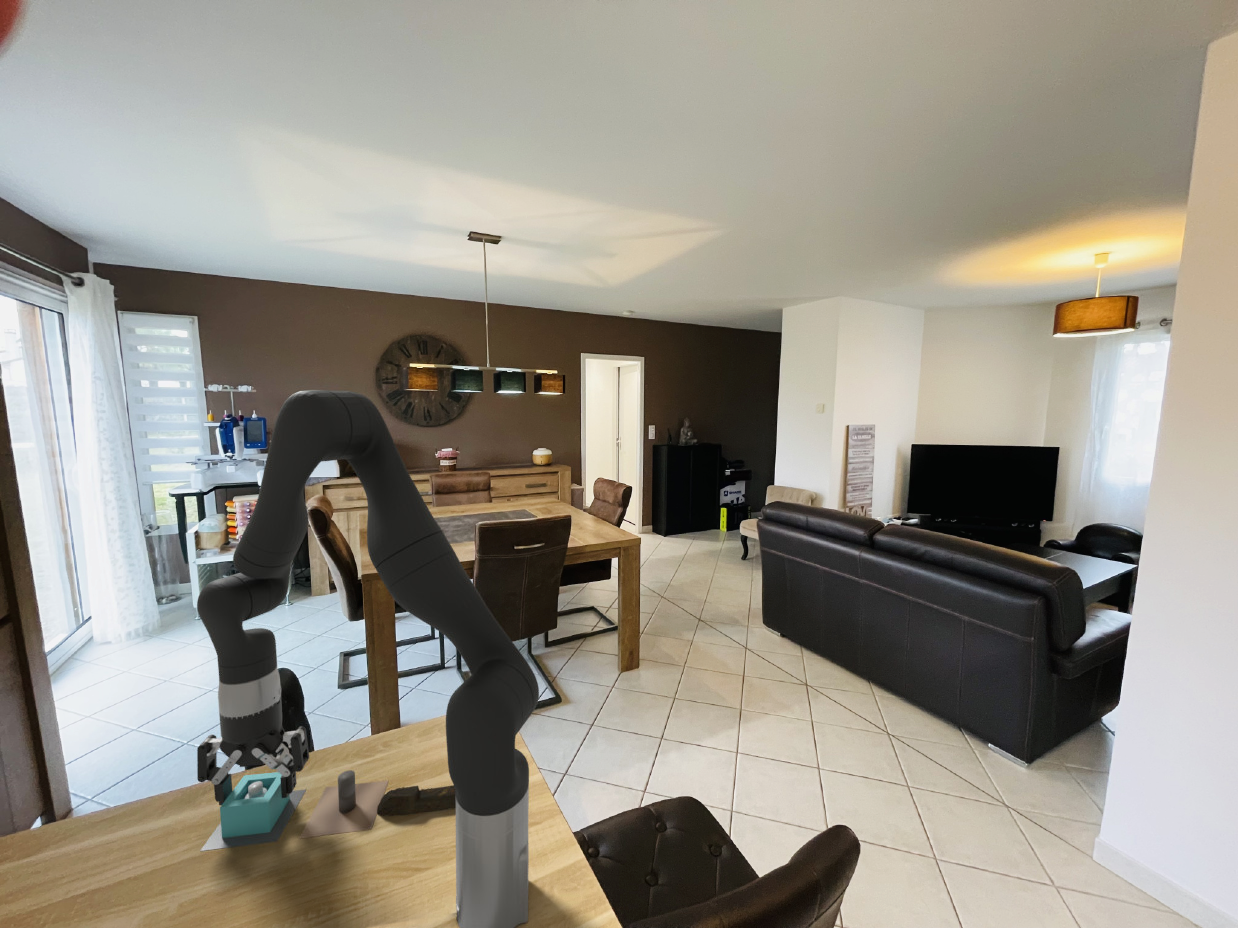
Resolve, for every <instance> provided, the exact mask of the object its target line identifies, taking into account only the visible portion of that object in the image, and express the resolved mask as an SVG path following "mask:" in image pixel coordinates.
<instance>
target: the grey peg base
mask: <svg viewBox="0 0 1238 928" xmlns="http://www.w3.org/2000/svg"><path fill="white" fill-rule="evenodd" d="M306 791H307V789H297V790H293V791H292V793H290V799H289V801H288V803H287V804H286V806H285V808H284V810H283V811H282V813H281V815H280V816H279V818H278V820H277V821H276V823H275V825H274V826H273V828H272V830H271V831H270V832H268V833H260V834H252V835H244V836H235V837H227V838H222V831H221V822H220V823H219V824H218V826H217V827H216V828H215V830H214V831H213V832H212V834H211V835H210V836H209V838H208V839H207V841H206V842H205V843H204V845H203V846H202V848H201V849H200V850H199V851H200V852H204V851H206V852H207V851H212V850H220V849H229V848H237V847H244V846H252V845H259V844H265V843H266V844H268V843H275V842H276V843H277V842H278V840H279V839H280V837H281V835H282V834H283V832H284V830H285V828H286V826H287V825H288V823H289V821H290V820H291V818H292V816H293V814H294V813H295V811H296V809H297V807H298V805H299V804H300V801H302V798H303V796H305V793H306ZM266 792H267V789H266V788H263V783H262V782H261V781H257V782H254V783H252V784H251V785H250V786H249V787H248V794H247V795H246V796H245V799H249V798H258V797H264V795H265V794H266Z"/></svg>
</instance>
